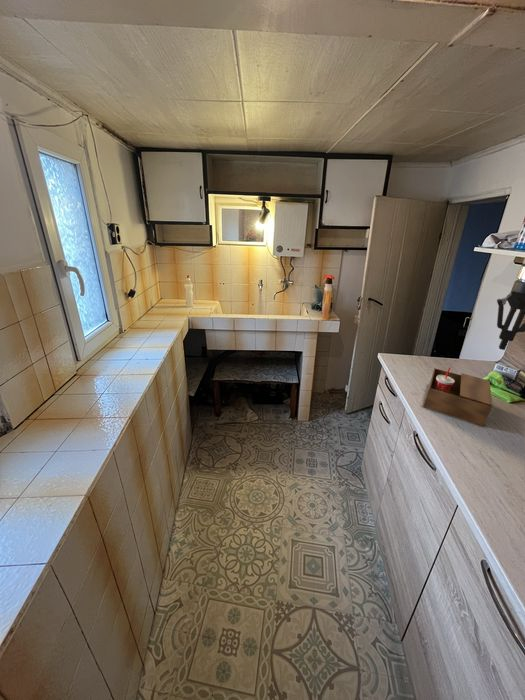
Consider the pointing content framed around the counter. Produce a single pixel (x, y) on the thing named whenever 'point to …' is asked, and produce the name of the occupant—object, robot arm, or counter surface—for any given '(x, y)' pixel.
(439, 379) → the beverage cup
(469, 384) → the flap
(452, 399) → the brown open-topped box
